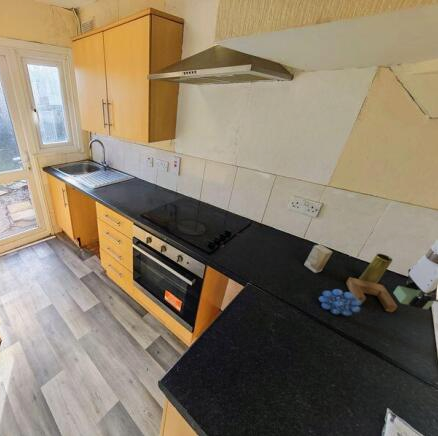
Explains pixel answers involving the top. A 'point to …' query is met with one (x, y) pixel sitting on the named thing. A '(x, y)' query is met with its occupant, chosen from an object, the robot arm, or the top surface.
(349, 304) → the grapes
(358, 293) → the brown wooden u-shaped piece
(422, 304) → the robot arm
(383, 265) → the vase
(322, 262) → the cosmetic box
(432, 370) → the top surface
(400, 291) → the light green block
